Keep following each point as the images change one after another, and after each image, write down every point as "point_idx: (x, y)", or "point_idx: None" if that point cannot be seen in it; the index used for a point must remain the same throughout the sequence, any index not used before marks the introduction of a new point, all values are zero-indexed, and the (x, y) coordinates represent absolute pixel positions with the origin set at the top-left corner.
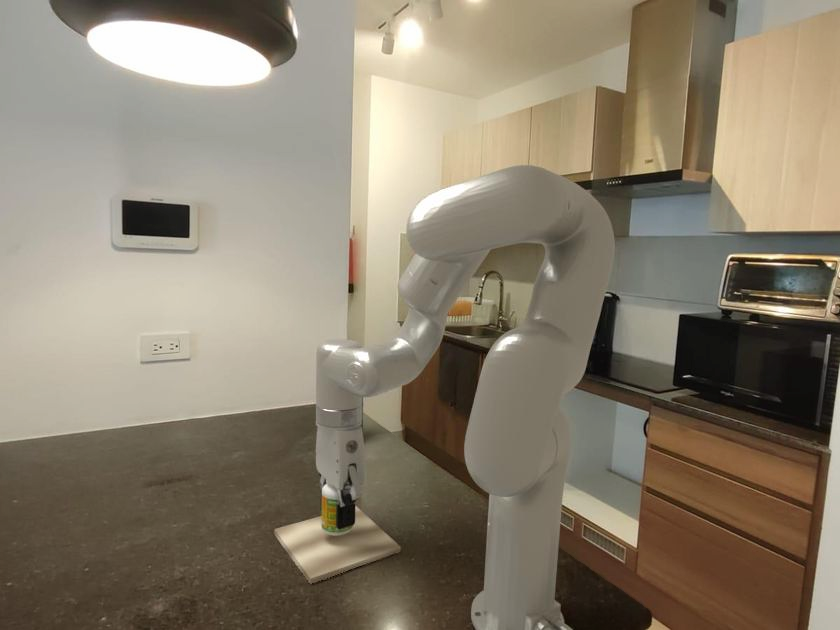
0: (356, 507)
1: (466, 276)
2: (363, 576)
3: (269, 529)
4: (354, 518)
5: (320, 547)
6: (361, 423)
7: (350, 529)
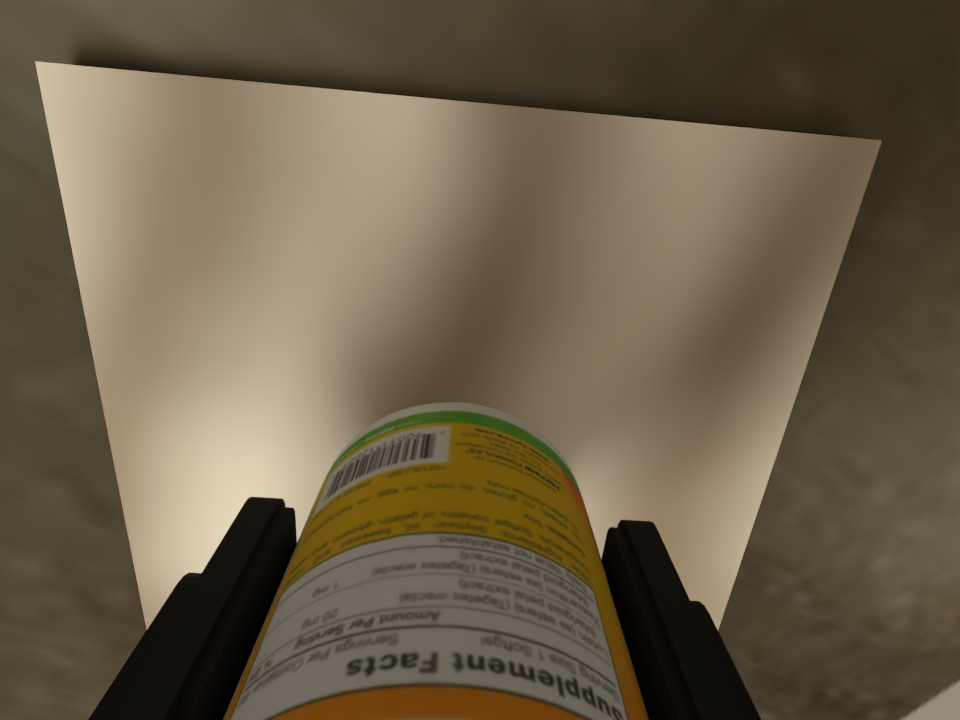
0: (63, 74)
1: None
2: (828, 474)
3: (105, 649)
4: (668, 563)
5: None
6: None
7: (573, 476)
